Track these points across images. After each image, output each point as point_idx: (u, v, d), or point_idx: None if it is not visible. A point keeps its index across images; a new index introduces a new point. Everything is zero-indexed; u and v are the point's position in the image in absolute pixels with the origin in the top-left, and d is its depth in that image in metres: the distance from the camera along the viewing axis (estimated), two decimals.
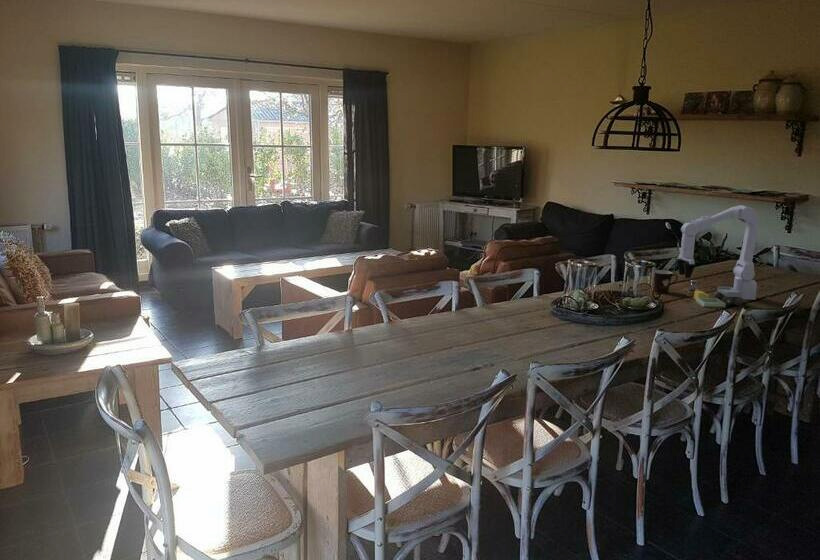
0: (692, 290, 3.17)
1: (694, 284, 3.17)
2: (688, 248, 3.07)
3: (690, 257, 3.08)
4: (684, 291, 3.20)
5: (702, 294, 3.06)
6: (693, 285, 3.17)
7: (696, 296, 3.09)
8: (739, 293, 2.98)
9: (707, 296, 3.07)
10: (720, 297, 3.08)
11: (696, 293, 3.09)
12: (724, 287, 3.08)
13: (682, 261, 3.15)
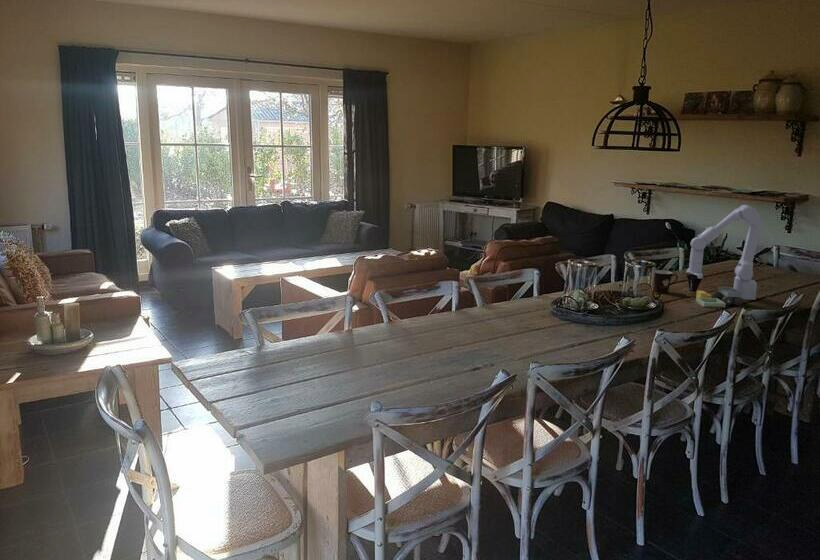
0: None
1: None
2: (695, 262, 3.13)
3: (698, 271, 3.13)
4: (684, 291, 3.20)
5: (704, 294, 3.06)
6: None
7: (698, 296, 3.09)
8: (739, 293, 2.98)
9: (709, 296, 3.06)
10: (720, 297, 3.08)
11: (698, 293, 3.09)
12: (724, 287, 3.08)
13: (692, 276, 3.18)
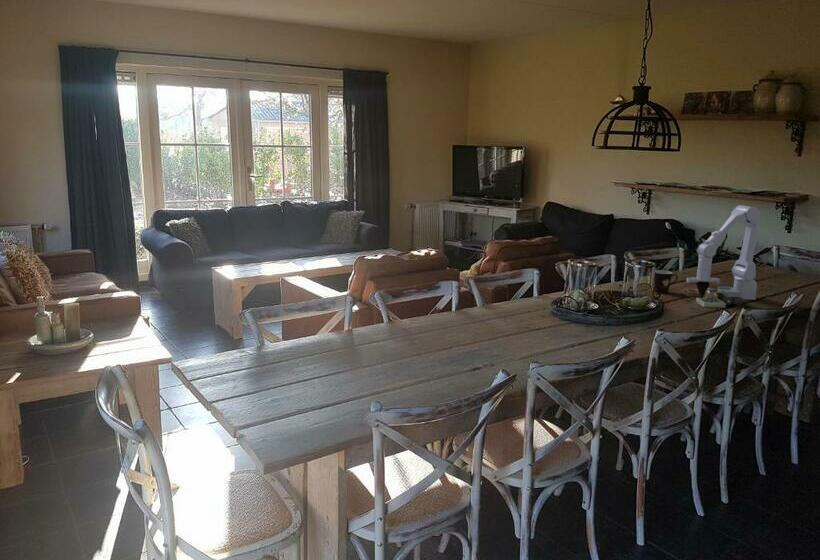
0: (709, 299, 2.99)
1: (711, 292, 2.98)
2: (707, 269, 3.03)
3: (697, 277, 3.07)
4: (684, 291, 3.20)
5: None
6: (711, 294, 2.98)
7: (705, 296, 3.08)
8: (739, 293, 2.98)
9: (716, 296, 3.05)
10: (720, 297, 3.08)
11: (705, 293, 3.08)
12: (724, 287, 3.08)
13: None
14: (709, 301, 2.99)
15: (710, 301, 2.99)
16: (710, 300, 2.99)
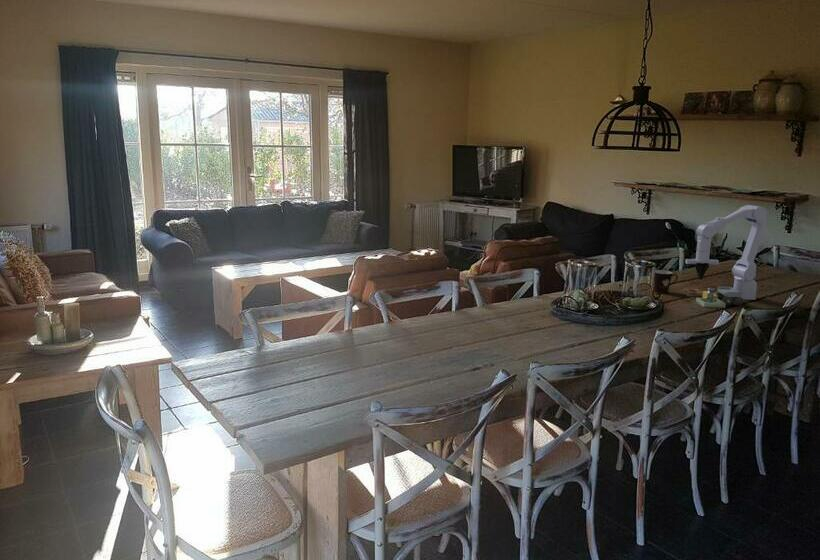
0: (709, 299, 2.99)
1: (711, 292, 2.98)
2: (705, 250, 3.02)
3: (696, 259, 3.05)
4: (684, 291, 3.20)
5: None
6: (711, 294, 2.98)
7: (705, 297, 3.08)
8: (739, 293, 2.98)
9: (716, 297, 3.05)
10: (720, 297, 3.08)
11: (705, 294, 3.08)
12: (724, 287, 3.08)
13: None
14: (709, 301, 2.99)
15: (710, 301, 2.99)
16: (710, 300, 2.99)
